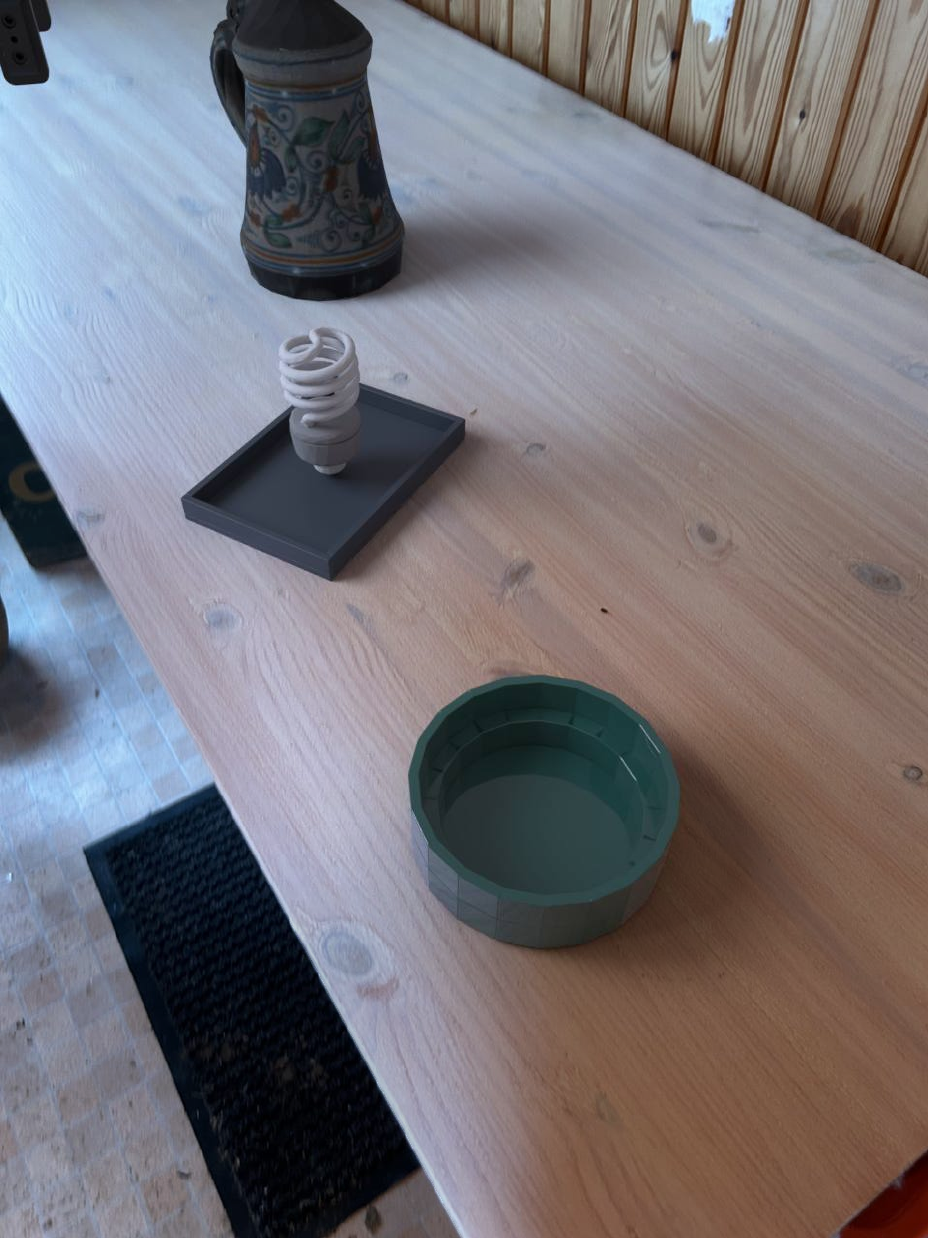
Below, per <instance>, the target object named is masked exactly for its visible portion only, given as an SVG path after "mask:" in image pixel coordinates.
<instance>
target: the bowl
mask: <svg viewBox="0 0 928 1238" xmlns="http://www.w3.org/2000/svg"><path fill="white" fill-rule="evenodd" d="M407 788H408V805H409V807H408V808H409V823H410V834H411V847H412V854H413V858H414V860H415V863H416V865H417V867H418V869H419V871H420V873H421V875H422V878H423V880H424V882H425V884H426V886H427V888H428V890H429V891H430V893H432V895H434V896H435V897H436V899H437V900H438V901H439V902H440V903H441V904H442V905H443V907H445V908H446V909H447V910H448V911H449V912H450V913H451V914H452V915H453V917H455V918H456V920H459V921H460V922H462V923H464V924H466V925H468V926H470V927H471V928H473V929H475V930H476V931H479V932H481V933H482V934H484V935H486V936H488V937H489V938H491V939H493V940H496V941H499V942H505V943H509V944H514V945H519V946H525V947H529V948H534V949H547V948H559V947H565V946H566V947H567V946H575V945H576V946H577V945H583V944H585V943H587V942H590V941H592V940H594V939H596V938H599V937H601V936H603V935H605V934H607V933H610V932H612V931H614V930H616V929H619V928H620V927H621V926H623V924H625V923H626V922H627V921H628V920H629V919H630V918H631V917H632V916H633V915H634V914H635V913H636V912H637V911H638V910H639V909H641V907H642V906H644V904H645V903H646V902H647V901H648V900H649V898H650V896H651V895H652V892H653V889H654V887H655V885H656V884H657V882H658V879H659V878H660V875H661V872H662V871H663V868H664V865H665V862H666V859H667V857H668V854H669V850H670V848H671V845H672V842H673V839H674V837H675V834H676V830H677V828H678V823H679V815H680V814H679V813H680V799H681V784H680V780H679V777H678V774H677V771H676V767H675V764H674V761H673V757H672V755H671V752H670V749H669V748H668V747H667V745H666V744H665V742H664V741H663V739H662V738H661V737H660V735H659V734H658V733H657V731H656V730H655V729H654V727H653V726H652V724H651V723H650V722H649V721H648V720H647V718H645V717H644V716H643V715H642V714H640V713H639V712H638V711H636V710H635V709H634V708H633V707H631V706H630V705H629V704H628V703H626V702H625V701H624V700H622V699H621V698H620V697H618V696H617V695H616V694H613V693H610V692H608V691H606V690H603V689H601V688H599V687H596V686H594V685H591V684H590V683H587V682H585V681H582V680H578V679H572V678H565V677H559V676H553V675H547V674H534V675H533V674H532V675H531V674H530V675H519V676H506V677H501V678H498V679H495V680H493V681H490V682H487V683H484V684H482V685H478V686H475V687H473V688H469V689H468V690H466V691H465V692H463V693H461V695H459V696H458V697H456V698H455V699H453V700H452V701H450V702H449V703H448V704H446V705H445V706H444V707H442V708H441V709H440V710H438V711H437V713H436V714H435V715H434V716H433V718H432V719H431V721H430V722H429V724H428V725H427V726H426V727H425V729H424V730H423V732H422V733H421V734H420V735H419V737H418V739H417V740H416V743H415V747H414V750H413V753H412V757H411V761H410V764H409V767H408V771H407Z"/></svg>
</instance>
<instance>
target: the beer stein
mask: <svg viewBox="0 0 928 1238" xmlns="http://www.w3.org/2000/svg"><path fill="white" fill-rule="evenodd" d="M225 10H226V11H225V14H226V15H225V16H226V18H225V19H223V20H220V21H219V22H218V23H217V24H216V27H215V29H214V30H213V32H212V33H213V38H212V42H211V45H210V48H209V67H210V73H211V77H212V81H213V85H214V88H215V91H216V93H217V96H218V100H219V102H220V104H221V106H222V108H223V110H224V113H225V115H226V116H227V119H228V121H229V124H231V127H232V128H233V130H234V132H235V133H236V135H237V136H238V138H239V140H240V142H241V143H242V145H243V147H244V149H245V155H246V157H245V161H246V162H245V196H244V197H245V198H244V201H245V202H244V211H243V219H242V222H241V227H240V231H239V243H240V247H241V250H242V253H243V255H244V257H245V259H246V262H247V265H248V269H249V272H250V275H251V276H252V278H253V279H254V280H255V281H256V282H257V284H259V285H260V286H261V287H263V288H264V289H265V290H268V291H269V292H272V293H275V294H278V295H281V296H284V297H287V298H291V299H297V300H303V301H313V302H323V301H333V300H343V299H351V298H355V297H358V296H360V295H364V294H366V293H367V294H368V293H370V292H372V291H376V290H379V289H381V288H382V287H383V286H385V285H386V284H387V283H389V282H390V281H392V280H393V279H394V278H396V276H398V275H399V274H400V273H401V271H402V270H401V269H402V257H403V248H404V240H405V238H406V228H405V224H404V220H403V218H402V216H401V214H400V213H399V211H398V210H397V207H396V205H395V202H394V199H393V196H392V193H391V188H390V185H389V181H388V177H387V173H386V170H385V169H386V168H385V164H384V159H383V155H382V150H381V144H380V140H379V134H378V129H377V128H378V127H377V123H376V119H375V113H374V107H373V103H372V96H371V91H370V86H369V79H368V66H369V65H370V62H371V59H372V54H373V45H374V44H373V43H374V40H373V36H372V34H371V32H370V31H369V29H367V28H366V26H365V25H364V23H363V22H362V21H361V20H360V19H359V18H357V17H356V16H355V15H354V14H353V13H351V12H350V11H349V10H348V9H347V8H345V7H344V6H343V5H341V4H340V3H339V2H338V1H336V0H227V2H226V6H225Z"/></svg>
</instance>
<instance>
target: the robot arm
mask: <svg viewBox="0 0 928 1238" xmlns="http://www.w3.org/2000/svg"><path fill="white" fill-rule="evenodd" d="M52 22H53V21H52V15H51V12H50V8H49V4H48V0H0V69H1V73H2V77H3V78H4V79H5V81H6V82H7V83H8V84H10V85H12V86H30V85H42V84H45V83H47V82H48V81H49V79H50V65H49V63H48V58H47V55H46V52H45V48H44V44H43V40H42V37H41V33H45V32H48V31H49V30H50V29H51V28H52Z"/></svg>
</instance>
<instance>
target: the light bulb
mask: <svg viewBox="0 0 928 1238" xmlns="http://www.w3.org/2000/svg"><path fill="white" fill-rule="evenodd" d="M305 345H310V346H307V347H301V348H297V347H299V346H305ZM324 346H326V347H324ZM330 347H331V348H330ZM294 348H295V349H294ZM332 348H333V349H332ZM293 349H294V350H293ZM278 355H279V357H280V360H279V366H278V368H279V372H280V373H281V375H280V384H281V387H282V388H283V389H284V390H283V396H284V398H285V400H286V402H287V403H288V404H290V406H291V405H292V406H294V407H296V408H295V409H294V410H293V411H292V413H291V416H290V419H289V422H290V425H289V427H290V433H291V437H292V441H293V444H294V448H295V451H296V453H297V455H298V456H299V457H300V458H301V459H302V460H304V461H306V462H307V463H309V464H312V465H314V467H315V469H316V470H318V471H319V472H321V473H324V474H327V475H331V474H336V473H338V472H340V471H341V470H342V469H343V468H344V467H345V466H346V462H347V461H349V460H351V459H352V458H353V457H354V456H355V455H356V454H357V453H358V452H359V449H360V447H361V430H362V424H361V416H360V413H359V410H358V409H357V408H356V407H355V405H354V404H355V402H356V400H357V399H358V396H359V383H360V381H361V372H360V370H359V358H358V355H357V354H356V345H355V341H354V340H353V338H352V336H351V335H349V334H348V333H346V332H345V331H343V330H340V329H338V328H335V327H330V326H317V327H314V328H312V329H311V330H310V332H309V333H302V334H297V335H294V336H291V337H288V338H287V339H285V340H284V341H283V342H282V343H281V344H280V346H279V348H278ZM316 358H322V359H326V360H315V359H316ZM327 360H330V361H327ZM332 361H334V362H332ZM334 376H338V378H336V379H334V378H332V377H334ZM345 386H346V387H345ZM344 387H345V388H344ZM333 392H334V393H335V394H334V395H332V396H323V395H328V394H331V393H333ZM318 396H321V397H318ZM301 397H316V398H311V399H309V400H307V399H301Z"/></svg>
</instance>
